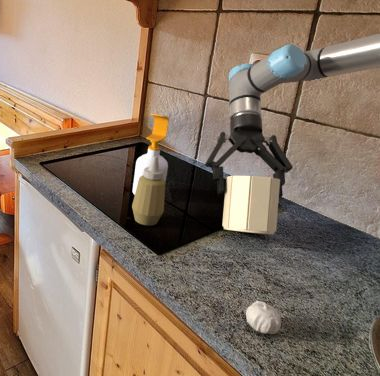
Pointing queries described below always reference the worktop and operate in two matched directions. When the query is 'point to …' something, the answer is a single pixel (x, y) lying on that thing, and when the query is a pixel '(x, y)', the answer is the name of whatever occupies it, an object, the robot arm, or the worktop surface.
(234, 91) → the robot arm
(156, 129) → the soap bottle
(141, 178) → the squeeze bottle
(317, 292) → the worktop surface
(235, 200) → the bin
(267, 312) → the garlic
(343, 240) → the worktop surface
